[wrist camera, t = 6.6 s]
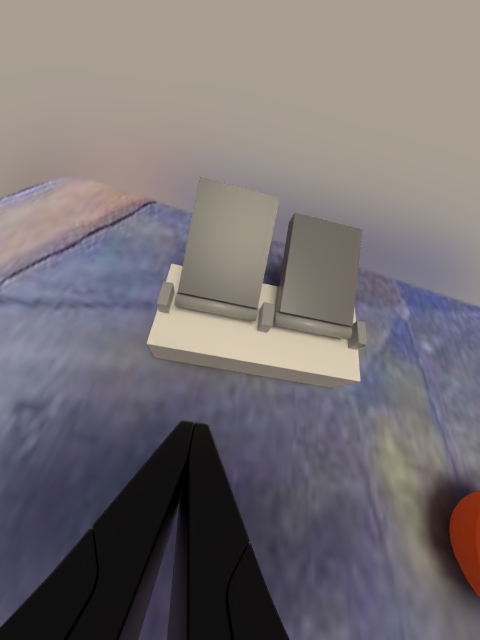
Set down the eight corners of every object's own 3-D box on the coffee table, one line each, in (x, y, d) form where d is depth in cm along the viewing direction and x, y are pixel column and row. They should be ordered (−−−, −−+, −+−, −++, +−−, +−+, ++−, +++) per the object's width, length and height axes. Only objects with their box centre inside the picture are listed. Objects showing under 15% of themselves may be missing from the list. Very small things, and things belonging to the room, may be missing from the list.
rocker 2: (352, 338, 16) (363, 229, 17) (276, 323, 15) (293, 212, 16) (341, 340, 17) (351, 239, 18) (270, 326, 16) (286, 223, 18)
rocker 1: (256, 321, 15) (281, 197, 15) (173, 305, 14) (198, 176, 14) (253, 320, 16) (275, 207, 16) (177, 305, 16) (199, 188, 16)
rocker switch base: (332, 388, 19) (372, 378, 15) (155, 357, 18) (142, 337, 13) (330, 320, 21) (364, 295, 17) (175, 288, 20) (170, 252, 16)
